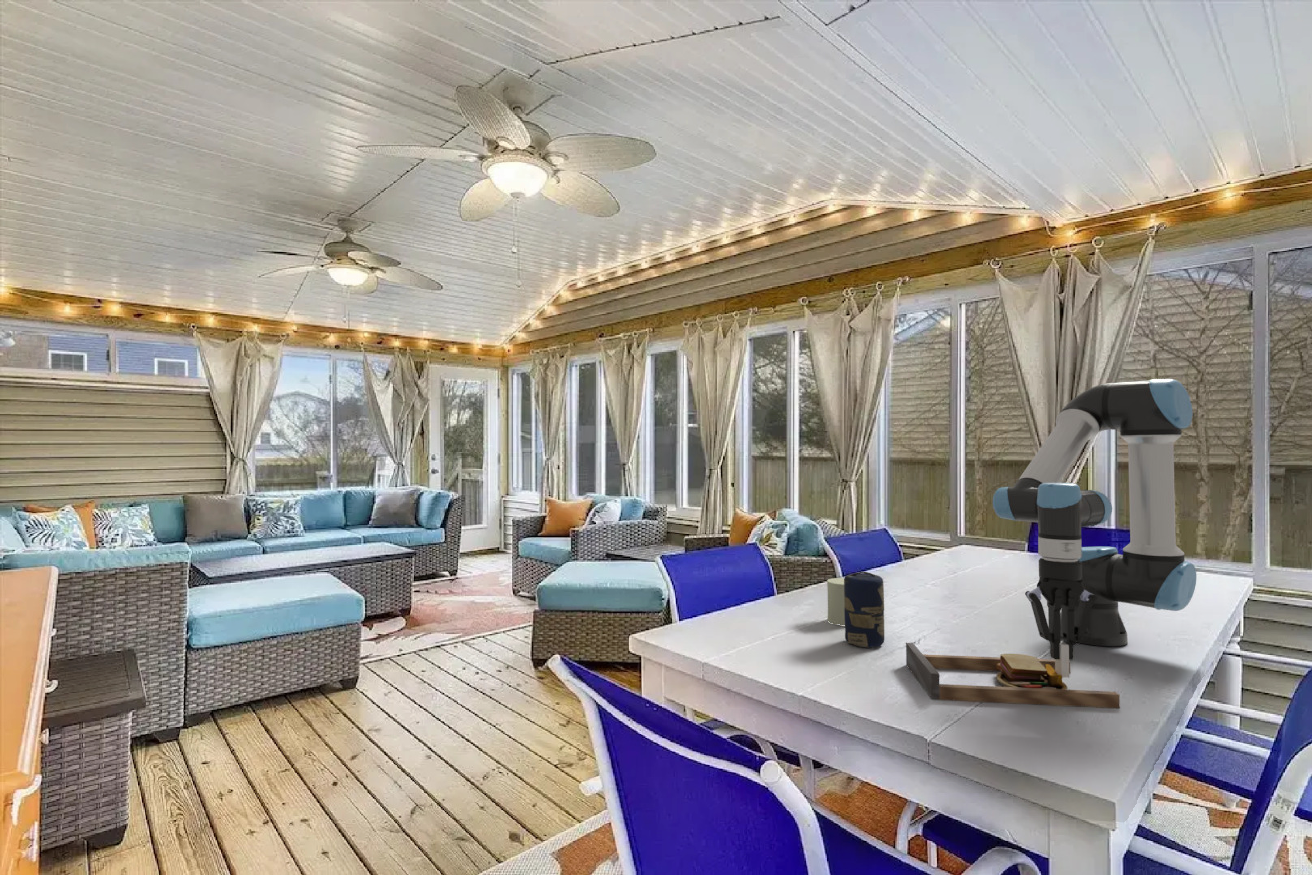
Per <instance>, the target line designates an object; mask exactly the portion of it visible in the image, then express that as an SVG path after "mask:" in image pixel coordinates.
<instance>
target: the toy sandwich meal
mask: <svg viewBox="0 0 1312 875" xmlns="http://www.w3.org/2000/svg"><path fill="white" fill-rule="evenodd" d="M999 657H1000V659H1001V660H1002V661H1001V663H998V664H997V669H998V670H1000V671H999V672H998V673H997V674H996V676H995V677H996V678H995V679H996V680H997V681H998V682H999V683H1000V684H1001V686H1002V687H1018V688H1041V689H1064V690H1068V686H1067V684H1066V683H1065V682H1063V677H1062V675H1058V674H1057V673H1056V672H1055V670H1054V669H1053V668H1052V667H1051V666H1050V665H1049V664H1046V665H1045V667H1044V666H1043V665H1042V664H1041V663H1040V662H1039V661H1038V659H1039V658H1038V657H1037V656H1033V655H1028V654H1021V653H1002V654H1000V656H999Z"/></svg>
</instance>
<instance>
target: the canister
mask: <svg viewBox="0 0 1312 875" xmlns="http://www.w3.org/2000/svg"><path fill="white" fill-rule="evenodd" d="M843 578H844V602H845V608H844V614H845V627H844V638H845V641H846V642H847V643H848V644H850V645H854V646H857V647H861V648H875V647H881V646H882V645H883V644H884V643H885V593H884V592H885V588H884V579H883V578H882V577H881V576H880V575H877V574H873V573H870V572H867V571H858V572H854V573H850V574H847V575H845V576H844V577H843Z"/></svg>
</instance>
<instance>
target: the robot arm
mask: <svg viewBox="0 0 1312 875" xmlns="http://www.w3.org/2000/svg"><path fill="white" fill-rule="evenodd" d="M1192 418H1193V405H1192V401H1191V398H1190V395H1189V393H1188V391H1187V388H1185V386H1184V385H1183V384H1182V383H1181V382H1180V381H1178V380H1176V379H1174V378H1165V379H1164V378H1162V379H1161V378H1160V379H1159V378H1158V379H1157V378H1154V379H1152V378H1151V379H1145V380H1133V381H1123V382H1122V381H1121V382H1109V383H1106V382H1105V383H1102V384H1098V385H1095V386H1093V387H1090V388H1088V389H1085V391H1083V392H1081V393H1080V394H1078V395H1077V396H1076V397H1074V398H1073V399H1071V400H1070V401H1069V402H1068V403H1067V404H1066V405H1064V406H1063V408H1061V411H1059V413H1058V414H1057V415H1056V418H1055V427H1054V428H1053V429H1052V431H1051V432H1050V434H1049V435H1048V436H1047V438H1046V440H1045V441H1044V442H1043V443H1042V445H1041V447H1039V449H1038V451H1037V453H1036V454H1035V455H1034V457H1032V459H1031V461H1030V462H1029V464H1028V465H1027V467H1026V468H1025V469H1024V471H1023V473H1022V474H1021V475H1020V477H1019V478H1018V479H1017V481H1016V482H1015V484H1014V485H1013V486H1012V487H1011V486H1006V487H1005V486H1004V487H1002V486H1001V487H999V488H997V489H996V491H994V493H993V496H992V508H993V510H994V512H995V514H996V515H997V517H999V518H1001V519H1005V520H1011V521H1016V522H1033V523H1037V526H1038V527H1037V528H1038V532H1037V533H1038V536H1037V537H1038V538H1037V541H1038V545H1037V547H1038V548H1037V550H1038V551H1037V552H1038V553H1037V554H1038V555H1039V557H1040V558H1039V559H1038V578H1039V579H1038V582H1037V583H1036V588H1033V590H1027V591H1025V593H1024V594H1025V597H1026V598H1027V599H1028V601H1029V602H1030V604H1031V609H1032V612H1033V616H1034V619H1035V624H1036V628H1037V630H1038V634H1039V637H1041V638H1042V639H1044V640H1045V641H1048V642H1049V649H1050V652H1049V654H1050V657H1051V659H1055V672H1056V673H1057V674H1058V675H1062V678H1069V679H1070V674H1069V662H1070V660H1073V659H1074V646H1076V645H1077V644H1084V645H1090V646H1099V647H1120V646H1125V645H1127V644H1128V631H1127V629H1126V626H1125V625H1124V624H1125V623H1124V622H1123V619H1122V616H1121V614H1120V612H1119V603H1123V604H1130V605H1134V606H1135V605H1136V606H1141V607H1145V608H1146V607H1147V608H1151V609H1155V610H1158V611H1159V610H1163V611H1172V612H1178V611H1181V610H1184V609H1185V608H1187V606H1188V605H1189V603H1190V602H1191V600H1192V598H1193V596H1194V594H1195V590H1196V584H1197V571H1196V567H1195V565H1194V564H1193V563H1191V562H1189V561H1188V560H1185V552H1184V551H1183V550H1182V549H1181V548H1179V547H1178V545H1177V540H1176V503H1175V502H1176V500H1175V499H1176V496H1175V494H1176V493H1175V456H1174V454H1175V453H1174V451H1175V450H1174V448H1175V447H1174V444H1175V442H1176V441H1178V440H1179V439H1180V438H1181V437H1182V435H1183V433H1182V430H1183V429H1187V428H1189V427H1190V426H1191V424H1192V422H1193V421H1192ZM1108 430H1109V431H1110V430H1117V431H1118V430H1119V431H1120V432H1119V434H1120V438H1121V439H1122V440H1123V441H1125V442H1126V443H1127V445H1128V446H1127V448H1128V449H1127V451H1128V452H1127V454H1128V485H1129V486H1128V491H1129V492H1128V495H1129V496H1128V497H1129V498H1128V499H1129V502H1128V503H1129V534H1130V536H1129V537H1130V538H1129V540H1130V542H1129V543H1128V544H1127V545H1126V546H1124V547H1123V548H1122V554H1120V553H1119V550H1118V549H1117V547H1115V546H1082V528H1084V527H1085V528H1086V527H1095V526H1098V525H1101V524H1103V523H1105V522H1107V521H1108V520H1109V518H1110V517H1111V515H1112V512H1113V506H1112V502H1111V499H1109V497H1108V496H1107V495H1106V494H1104V493H1103V492H1100V491H1098V490H1097V491H1096V490H1092V489H1089V490H1088V489H1083V490H1081V487H1080V485H1078V484H1077V483H1071V482H1069V483H1068V482H1061V481H1062V480H1063V478H1064V477H1065V475H1066V473H1068V471H1069V469H1070V468H1071V466H1072V465H1073V463H1074V462H1075V460H1076V459H1077V457H1078V456H1079V454H1080V453H1081V452H1082V449H1083V448H1084V446H1085V445H1086V443H1087V442H1088V441H1091V440H1093V439H1094V438H1096V436H1098V434H1099V433H1100V432H1102V431H1108ZM1042 596H1043V598H1044V599H1045V600H1046V606H1047V609H1048V610H1047V611H1048V612H1047V614H1048V619H1047V618H1046V613H1045V609H1044V606H1043V604H1042V602H1041V600H1042ZM1047 620H1048V621H1047ZM1061 639H1062V640H1061Z"/></svg>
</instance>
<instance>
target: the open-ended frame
mask: <svg viewBox="0 0 1312 875" xmlns="http://www.w3.org/2000/svg"><path fill="white" fill-rule="evenodd" d="M905 649H906V650H905V654H906V656H905V657H906V658H905V663H906V667H907V666H908V667H909V668H908V667H907V668H908V669H909V671H910V670H911V671H912V672H911V671H910V672H911V673H912V675H913V676H914V678H915V679H916V680H917V681H919V682H918V683H919V684H920V686H921V685H922V686H921V687H922V689H923V690H924V691H925V692H926V694H927V695H928V697H929V698H930V699H931V700H937V701H938V700H939V701H957V702H959V701H960V702H979V703H981V702H982V703H983V702H984V703H998V704H999V703H1001V704H1003V703H1004V704H1020V705H1021V704H1023V705H1041V706H1042V705H1043V706H1044V705H1046V706H1065V707H1067V706H1068V707H1087V708H1088V707H1089V708H1109V709H1111V708H1112V709H1120V707H1121V706H1120V705H1121V704H1120V702H1121V701H1120V698H1121V697H1120V694H1119V693H1118V692H1116V691H1108V690H1104V691H1103V690H1085V689H1084V690H1083V689H1081V690H1080V689H1067V690H1064V689H1041V688H1018V687H1004V686H994V685H993V686H990V685H972V684H970V685H969V684H967V685H966V684H949V683H946V684H945V683H943V684H942V683H941V684H940V673H939V671H938V670H937V669H941V670H943V669H944V670H946V669H947V670H948V669H949V670H966V671H967V670H968V671H989V672H992V671H993V672H995V671H997V672H1001V671H1000V670H998V669H997V664H998V663H1001V661H1002V660H1001V659H1000V656H998V657H997V656H975V655H974V656H971V655H949V654H948V655H945V654H944V655H943V654H942V655H941V654H923V652H921V651H920V649H919V648H918V647H917V646H916V645H915V644H914V642H905ZM1038 661H1039V662H1040V663H1041V664H1042V665H1043V666H1044V667H1045V665H1046V664H1049V665H1050V666H1051V667H1052V668H1053V669H1054V670H1055V659H1054V658H1038ZM1069 675H1071V661H1069Z"/></svg>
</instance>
